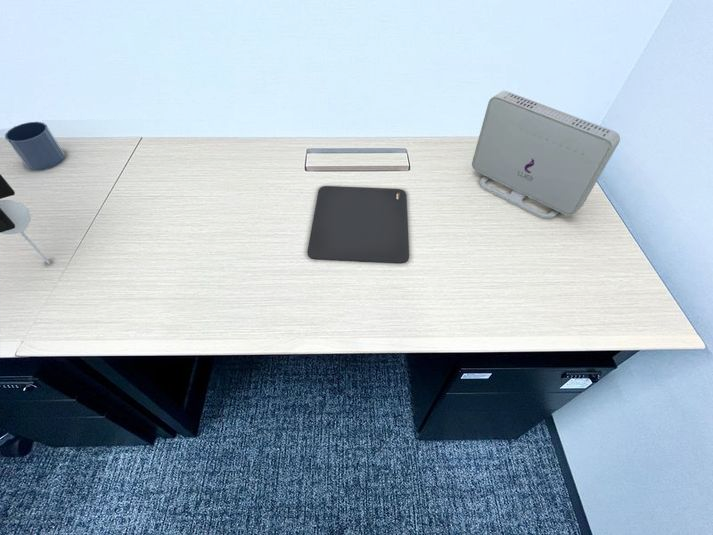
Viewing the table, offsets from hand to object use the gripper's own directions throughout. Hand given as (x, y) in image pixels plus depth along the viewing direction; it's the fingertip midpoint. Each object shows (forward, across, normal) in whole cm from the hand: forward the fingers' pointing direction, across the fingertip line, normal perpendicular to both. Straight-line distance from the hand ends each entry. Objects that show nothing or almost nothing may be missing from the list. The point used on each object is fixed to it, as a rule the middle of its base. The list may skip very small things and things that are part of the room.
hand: (5, 212), depth 67 cm
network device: (+14, +28, +96) cm, 101 cm away
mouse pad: (+14, +19, +59) cm, 63 cm away
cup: (+13, -39, +1) cm, 41 cm away
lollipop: (+13, 0, 0) cm, 13 cm away
